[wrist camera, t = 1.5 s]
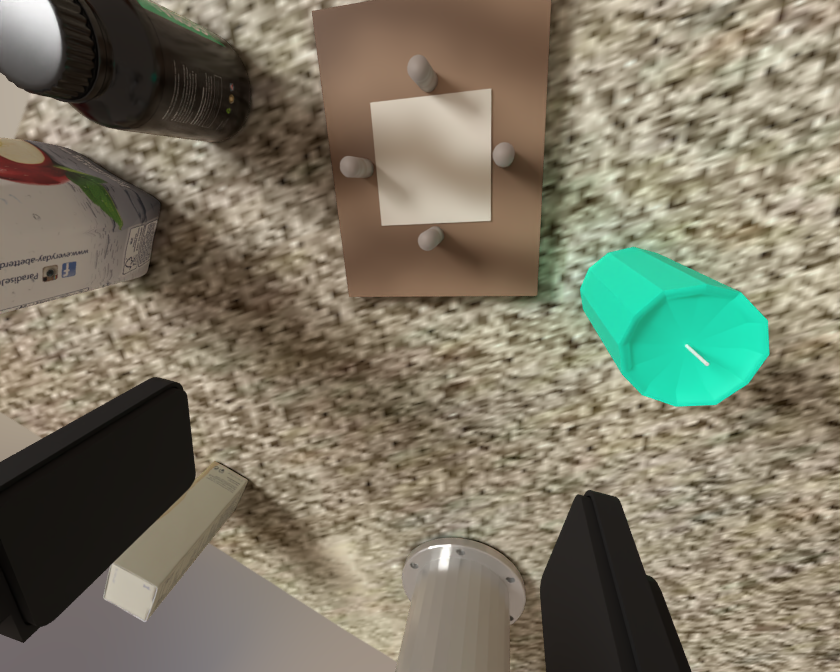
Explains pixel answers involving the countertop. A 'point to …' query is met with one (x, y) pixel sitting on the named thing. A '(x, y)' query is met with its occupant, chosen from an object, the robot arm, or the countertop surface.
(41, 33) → the supplement bottle
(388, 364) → the countertop surface
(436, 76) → the brown pegged board
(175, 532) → the skincare box
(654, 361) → the candle
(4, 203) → the juice carton
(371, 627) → the countertop surface
